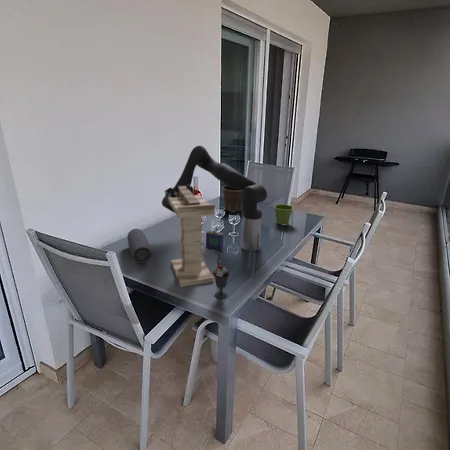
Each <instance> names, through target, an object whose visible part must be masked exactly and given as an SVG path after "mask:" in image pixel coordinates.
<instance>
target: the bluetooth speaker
mask: <svg viewBox="0 0 450 450" xmlns="http://www.w3.org/2000/svg"><path fill="white" fill-rule="evenodd" d="M127 243H128V249H129V252H130V254H131V257H132V259H133V260H134V262H136V263H137V264H145V263H147V262H149V261H150V259H151V258H152V250H151V245H150V243H149V241H148V238H147V236H146V234H145V233H144V231H142V229H140V228H134V229H133V228H132V229H130V230H129V232H128V234H127Z"/></svg>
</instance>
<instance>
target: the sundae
mask: <svg viewBox="0 0 450 450" xmlns="http://www.w3.org/2000/svg"><path fill="white" fill-rule="evenodd" d="M215 261H216V262H217V263H218V265H217V266H216V268H215V269H214V271H212V276H213V278H214V281H215V285H216V287H217V288H218V289H219V291H217V292H215V294H214V297H215V298H216V299H218V300H223V299H227V297H228V294H227V292H225V291H223V289H224V288H226V286H227V283H228V279H229V278H230V275H231V272H230V271H229V270H227V269H226V268H225V266H223V265H220V264H221V263H220V262H219V261H218V259H217V260H215Z"/></svg>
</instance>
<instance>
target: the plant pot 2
mask: <svg viewBox="0 0 450 450" xmlns="http://www.w3.org/2000/svg"><path fill="white" fill-rule="evenodd" d="M273 206H274V211H275V220H276V222H277V223H279V224H288V225H289V221H290V219H291V215H292V211H293V210H294V208H295V207H294V206H292V205H290V204H284V203H279V204H275V205H273ZM277 223H276V224H277Z"/></svg>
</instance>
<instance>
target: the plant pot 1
mask: <svg viewBox="0 0 450 450" xmlns="http://www.w3.org/2000/svg"><path fill="white" fill-rule="evenodd" d="M221 188H222V191H223V192H222V193H223V203H224V210H225V209H226V210H227V211H226V210H225V211H226V212H228V211H240V210H242V193H243V190H240V189H237V188H234V187H230V186H227V185H225V184H224V186H222V187H221ZM240 212H241V211H240Z"/></svg>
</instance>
